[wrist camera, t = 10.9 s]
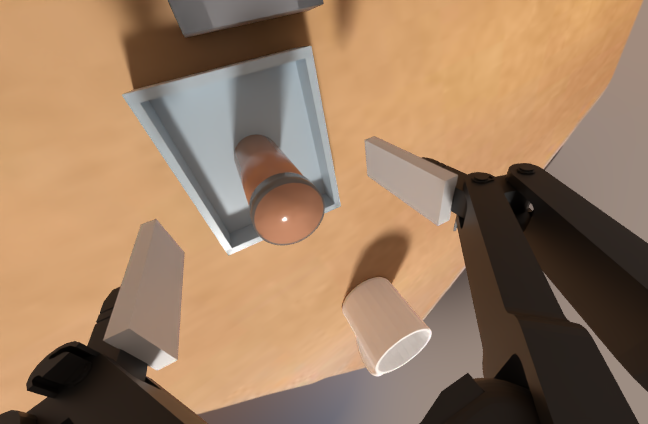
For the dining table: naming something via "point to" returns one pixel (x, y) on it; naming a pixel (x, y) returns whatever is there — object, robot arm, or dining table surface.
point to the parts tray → (238, 132)
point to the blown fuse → (277, 192)
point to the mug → (384, 326)
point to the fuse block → (232, 13)
